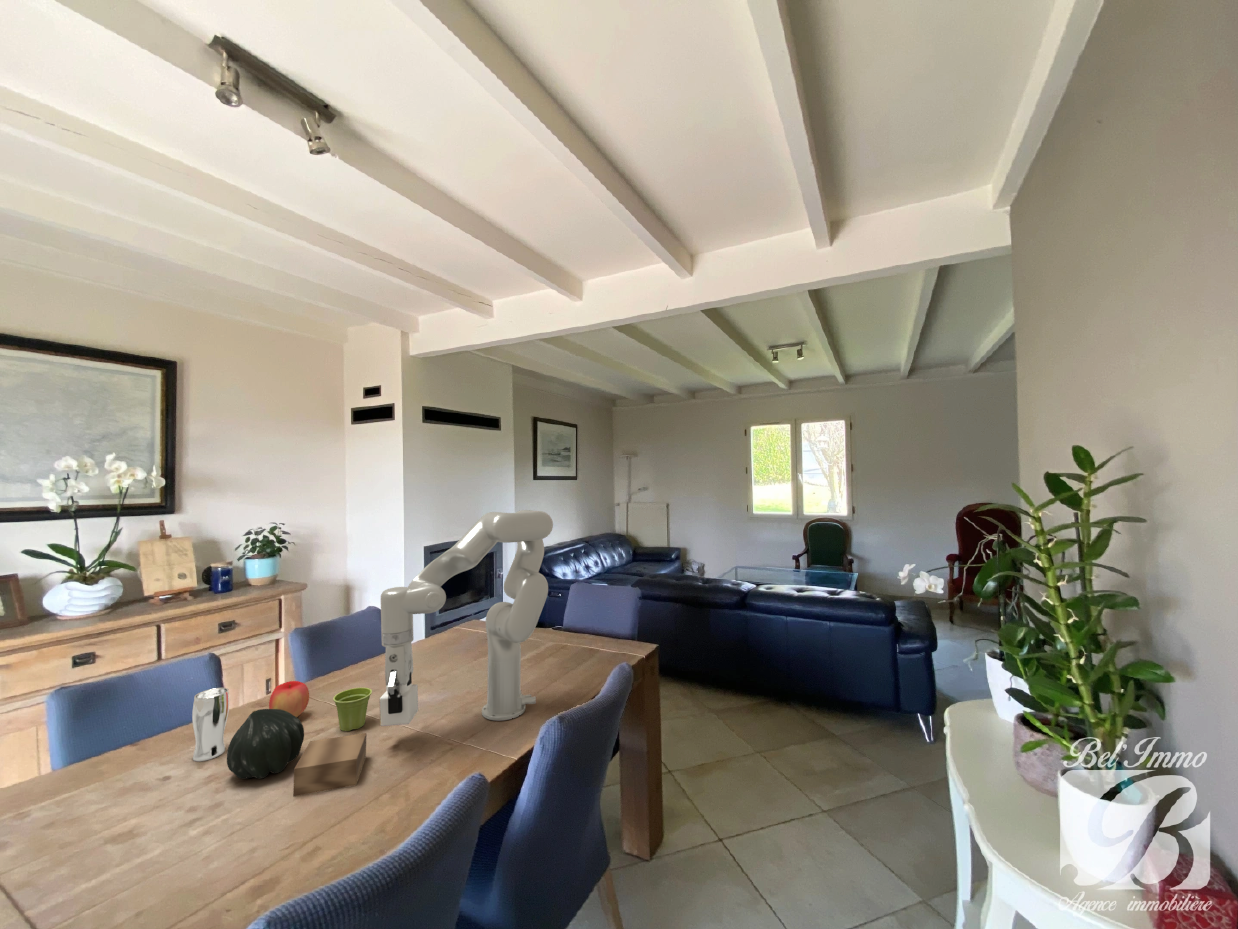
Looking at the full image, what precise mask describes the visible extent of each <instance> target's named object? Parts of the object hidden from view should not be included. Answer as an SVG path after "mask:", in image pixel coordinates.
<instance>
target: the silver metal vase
mask: <svg viewBox="0 0 1238 929" xmlns="http://www.w3.org/2000/svg"><path fill="white" fill-rule="evenodd" d="M192 705H193V706H192V713H191V714H192V715H191V717H192V727H193V728H192V729H193V733H194V737H195V738H194V739H195V747H194V751H193V755H192V760H193V761H194V762H204V761H205V762H206V761H210V760H213V759H216V758H217V757H219V756H221V755H222V754H224V753H225V751H226V746H225V742H224V741H225V739H224V734H225V731H226V730H225V729H226V726H227V721H228V717H229V712H230V711H229V709H230V695H229V688H227V687H216V688H211V689H205V690H202V691H201V692H198V693H197V694H195V695H194V698H193V704H192Z"/></svg>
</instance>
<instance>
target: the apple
mask: <svg viewBox="0 0 1238 929" xmlns="http://www.w3.org/2000/svg"><path fill="white" fill-rule="evenodd" d="M309 701H310V690H309V688H308V686H307V685H306V684H305V683H304V682H301V681H299V680H291V681H285V682H283V683H281V684H280V683H279V685H276V687H274V689H273V690H272V692H271V695H270V696H269V702H268V709H281V710H284V711H287V712H289V713H291V714H292V715H293V716H295V717H297V718H298V717H299V716H301V715H302V714H303V712H305V710H306V709H307V707H308V705H309Z"/></svg>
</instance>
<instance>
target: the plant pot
mask: <svg viewBox="0 0 1238 929" xmlns="http://www.w3.org/2000/svg"><path fill="white" fill-rule="evenodd" d="M372 693H373V689H371V688H369V687H353V688H349V689H346V690H343V691H340V692H338V693H336V694H335V695H334V696H333V697H332V698H333V699H332V700H333V702H334V703H335V706H336V711H337V712H336V713H337V717H338V726H339V730H340V731H342V732H350V731H352V730H358V729H360V728H362V727H363V726H364V725H365V723H366V718H367V710H368V705H369V700H370V697H371V695H372Z"/></svg>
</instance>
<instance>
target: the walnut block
mask: <svg viewBox="0 0 1238 929" xmlns="http://www.w3.org/2000/svg"><path fill="white" fill-rule="evenodd" d="M366 757H367V732H364V733H363V732H362V733H357V734H351V735H343V736H335V737H329V738H323V739H315V740H310V741H309V743H308V745H307V747H306V748H305V749H304V751H303V753H302V755H301V756H300V758H299V760H298V761H297V763H296V765H295V767H294V769H293V789H292V791H293V792H292V794H293V797H298V796H303V795H309V794H314V793H319V792H326V791H331V790H337V789H342V788H349V787H355V786H357V784H358V780H359V777H360V774H361V773H362V770H363V766H364V763H365V761H366Z"/></svg>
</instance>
